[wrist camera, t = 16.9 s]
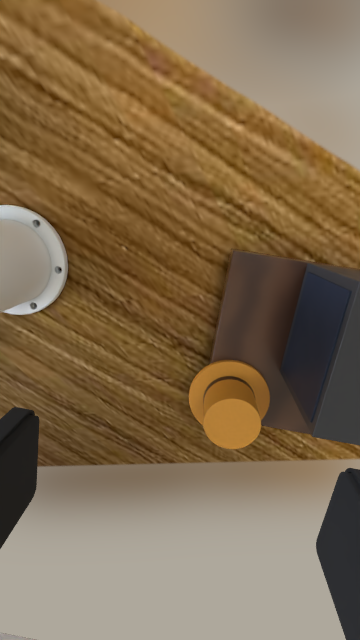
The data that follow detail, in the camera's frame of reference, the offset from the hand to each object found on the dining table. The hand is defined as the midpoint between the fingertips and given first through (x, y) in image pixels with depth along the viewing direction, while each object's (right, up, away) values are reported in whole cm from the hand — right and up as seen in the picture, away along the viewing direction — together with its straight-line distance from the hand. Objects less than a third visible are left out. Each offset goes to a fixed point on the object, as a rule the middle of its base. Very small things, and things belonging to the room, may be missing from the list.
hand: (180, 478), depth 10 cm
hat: (+5, -4, +28) cm, 29 cm away
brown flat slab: (+12, +3, +30) cm, 32 cm away
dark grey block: (+15, +4, +25) cm, 29 cm away
